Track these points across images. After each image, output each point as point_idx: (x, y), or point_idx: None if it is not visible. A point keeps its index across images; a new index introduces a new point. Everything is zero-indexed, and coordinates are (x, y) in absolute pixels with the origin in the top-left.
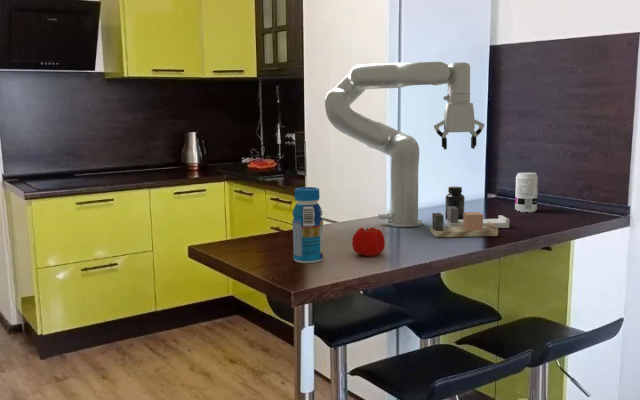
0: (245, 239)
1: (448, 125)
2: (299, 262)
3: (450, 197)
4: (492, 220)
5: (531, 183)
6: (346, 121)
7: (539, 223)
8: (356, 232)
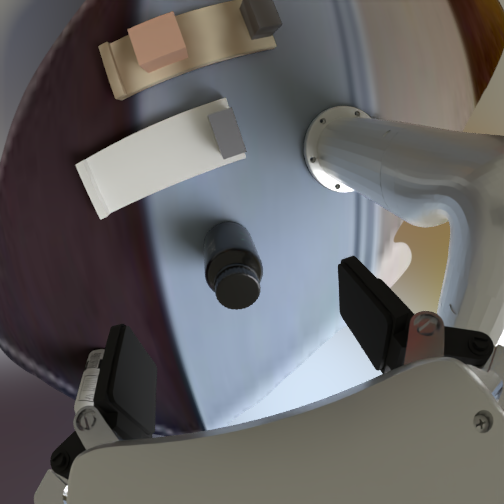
0: (498, 44)
1: (475, 426)
2: None
3: (246, 251)
4: (120, 182)
5: (81, 394)
6: None
7: (44, 243)
8: None
